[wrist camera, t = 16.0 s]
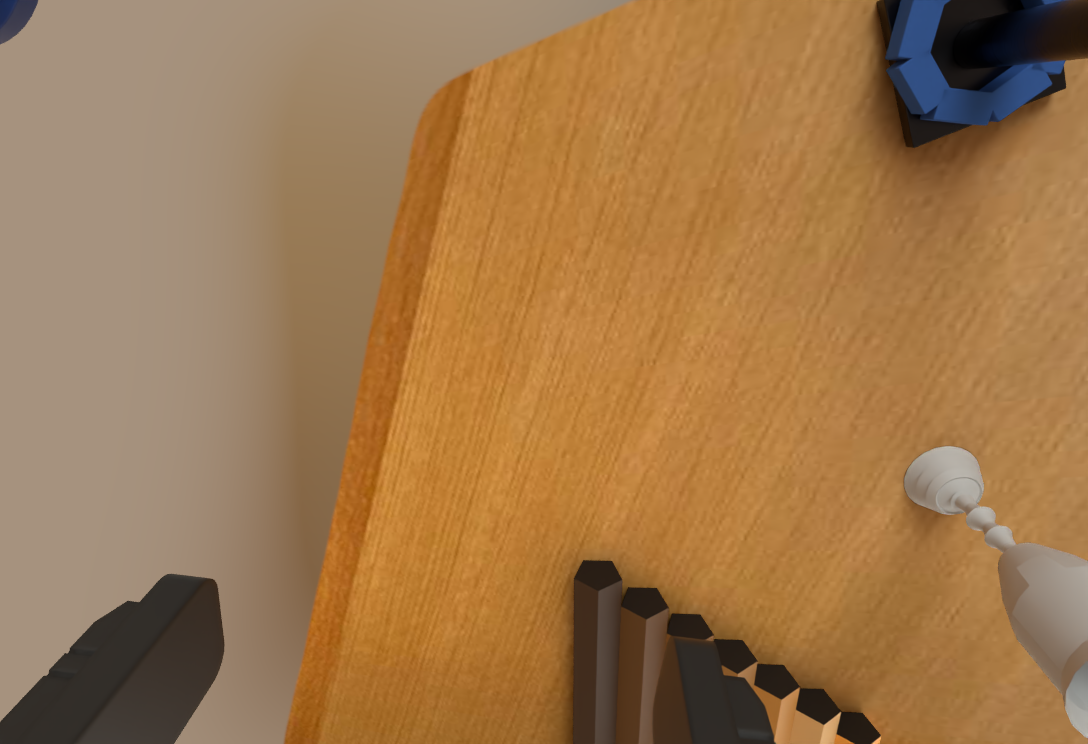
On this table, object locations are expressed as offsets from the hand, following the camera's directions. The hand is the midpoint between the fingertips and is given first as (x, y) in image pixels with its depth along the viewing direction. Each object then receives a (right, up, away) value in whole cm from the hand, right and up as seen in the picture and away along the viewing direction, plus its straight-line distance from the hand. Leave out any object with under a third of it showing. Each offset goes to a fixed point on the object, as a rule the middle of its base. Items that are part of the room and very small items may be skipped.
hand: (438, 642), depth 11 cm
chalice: (+30, -3, +34) cm, 45 cm away
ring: (+25, +23, +23) cm, 40 cm away
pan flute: (+17, -21, +43) cm, 51 cm away
